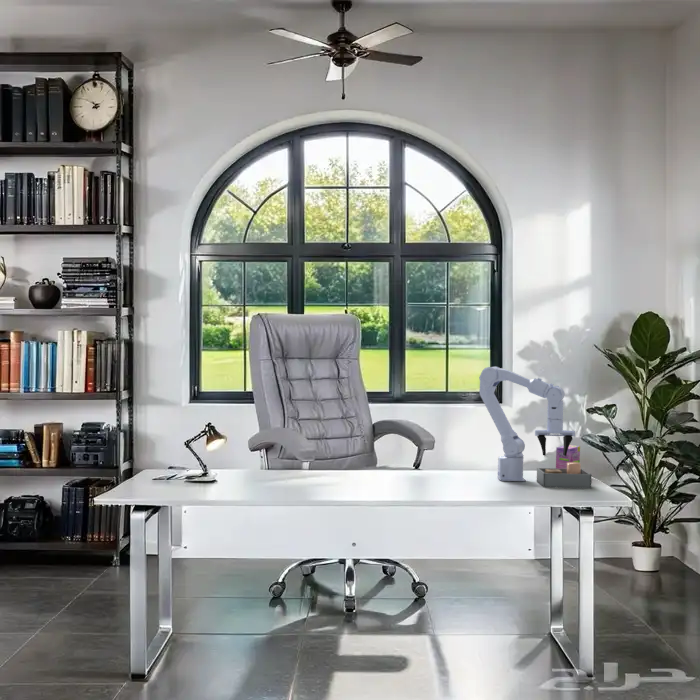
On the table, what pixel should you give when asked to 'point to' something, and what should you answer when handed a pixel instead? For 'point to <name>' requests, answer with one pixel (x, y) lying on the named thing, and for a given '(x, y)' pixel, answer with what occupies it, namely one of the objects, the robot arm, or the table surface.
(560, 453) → the box
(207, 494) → the table surface
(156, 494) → the table surface
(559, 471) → the walnut cube
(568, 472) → the terracotta cylinder
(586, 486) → the tote
